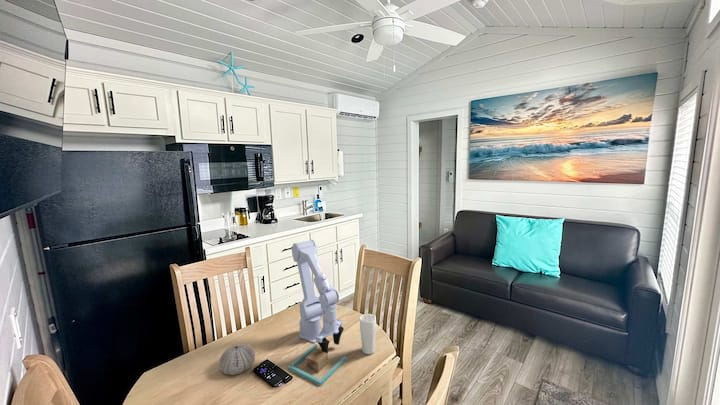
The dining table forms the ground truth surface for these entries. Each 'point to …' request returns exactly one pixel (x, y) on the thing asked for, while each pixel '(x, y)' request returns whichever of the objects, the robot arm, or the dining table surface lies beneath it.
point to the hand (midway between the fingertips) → (330, 348)
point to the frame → (308, 376)
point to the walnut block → (317, 360)
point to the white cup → (368, 333)
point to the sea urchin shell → (237, 359)
